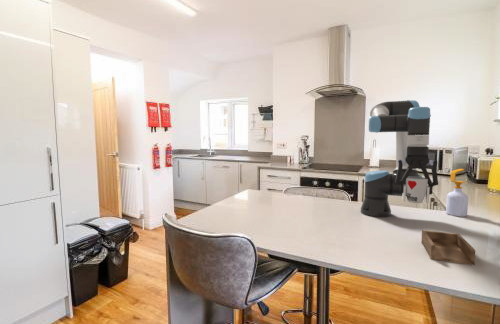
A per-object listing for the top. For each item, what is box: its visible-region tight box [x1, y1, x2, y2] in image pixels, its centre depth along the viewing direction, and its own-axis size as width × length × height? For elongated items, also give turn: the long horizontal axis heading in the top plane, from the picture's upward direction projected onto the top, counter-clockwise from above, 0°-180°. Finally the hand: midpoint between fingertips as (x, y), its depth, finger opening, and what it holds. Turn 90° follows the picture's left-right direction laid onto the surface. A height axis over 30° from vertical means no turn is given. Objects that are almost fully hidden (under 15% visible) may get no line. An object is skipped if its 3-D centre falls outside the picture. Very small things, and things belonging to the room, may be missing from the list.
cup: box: [405, 176, 428, 204], centre depth 111 cm, size 8×8×10 cm
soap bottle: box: [445, 168, 469, 217], centre depth 144 cm, size 9×9×25 cm
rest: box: [421, 229, 476, 266], centre depth 97 cm, size 12×16×5 cm
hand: (415, 201), depth 111 cm, fingers closed on cup, 8 cm apart
